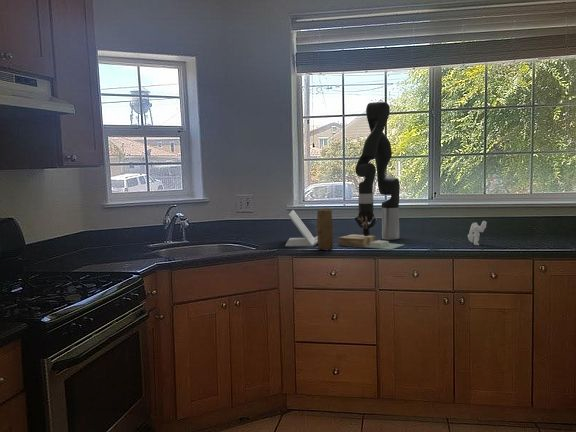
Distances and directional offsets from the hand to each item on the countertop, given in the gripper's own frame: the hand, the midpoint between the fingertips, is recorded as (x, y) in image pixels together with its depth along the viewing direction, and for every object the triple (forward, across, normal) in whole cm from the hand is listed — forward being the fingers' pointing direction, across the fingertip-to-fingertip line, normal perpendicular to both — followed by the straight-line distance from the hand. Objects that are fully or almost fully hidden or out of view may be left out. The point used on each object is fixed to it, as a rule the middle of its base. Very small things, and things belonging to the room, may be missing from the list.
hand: (366, 235), depth 267 cm
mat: (+5, -9, -2) cm, 10 cm away
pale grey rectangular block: (+2, -7, 0) cm, 8 cm away
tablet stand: (+5, +34, +8) cm, 36 cm away
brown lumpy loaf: (+5, +12, +19) cm, 23 cm away
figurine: (+5, -46, -30) cm, 55 cm away
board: (+5, +6, 0) cm, 7 cm away
